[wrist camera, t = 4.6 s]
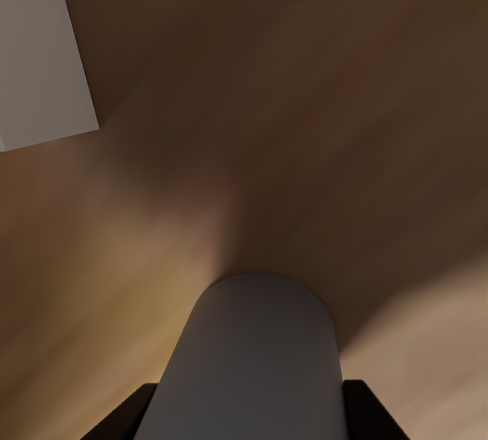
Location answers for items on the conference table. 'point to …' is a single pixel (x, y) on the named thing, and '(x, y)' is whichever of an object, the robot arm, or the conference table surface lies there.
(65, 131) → the socket block
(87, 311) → the conference table surface
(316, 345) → the peg
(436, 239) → the conference table surface
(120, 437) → the robot arm
